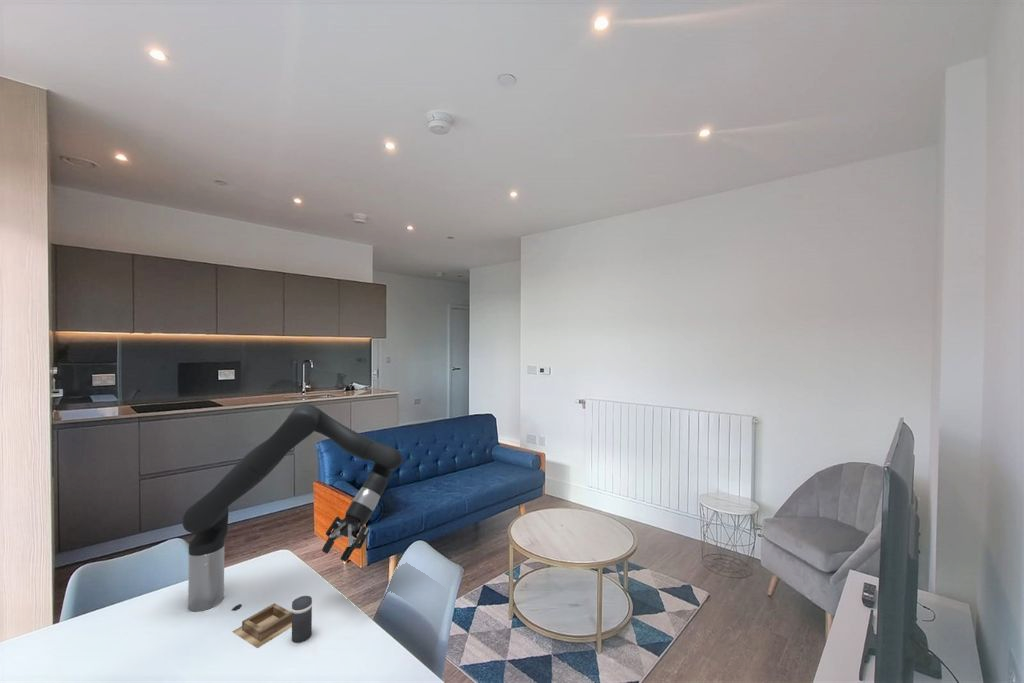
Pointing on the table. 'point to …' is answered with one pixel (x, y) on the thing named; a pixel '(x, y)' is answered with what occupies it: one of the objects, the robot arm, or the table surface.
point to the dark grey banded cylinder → (301, 619)
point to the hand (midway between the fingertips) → (333, 556)
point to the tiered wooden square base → (265, 625)
